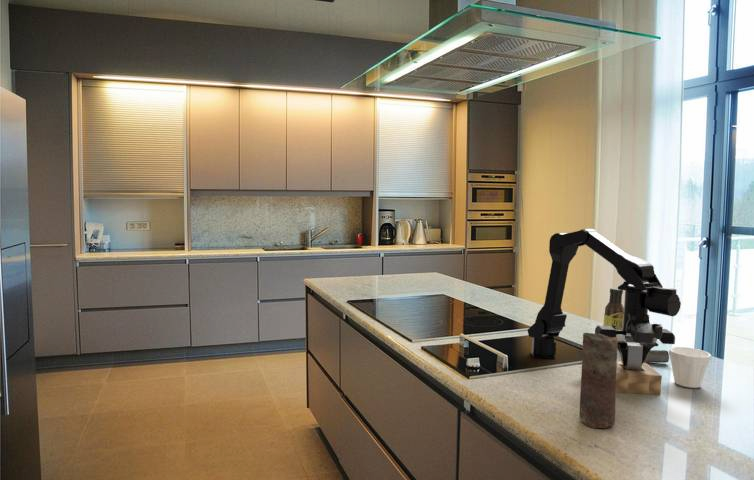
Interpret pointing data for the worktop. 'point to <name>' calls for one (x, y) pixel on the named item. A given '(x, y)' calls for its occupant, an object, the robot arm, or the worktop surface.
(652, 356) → the pipe
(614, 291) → the sauce bottle
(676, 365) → the cup
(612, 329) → the robot arm
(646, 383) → the socket block
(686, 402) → the worktop surface
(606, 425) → the brown stone pillar
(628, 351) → the square bit
